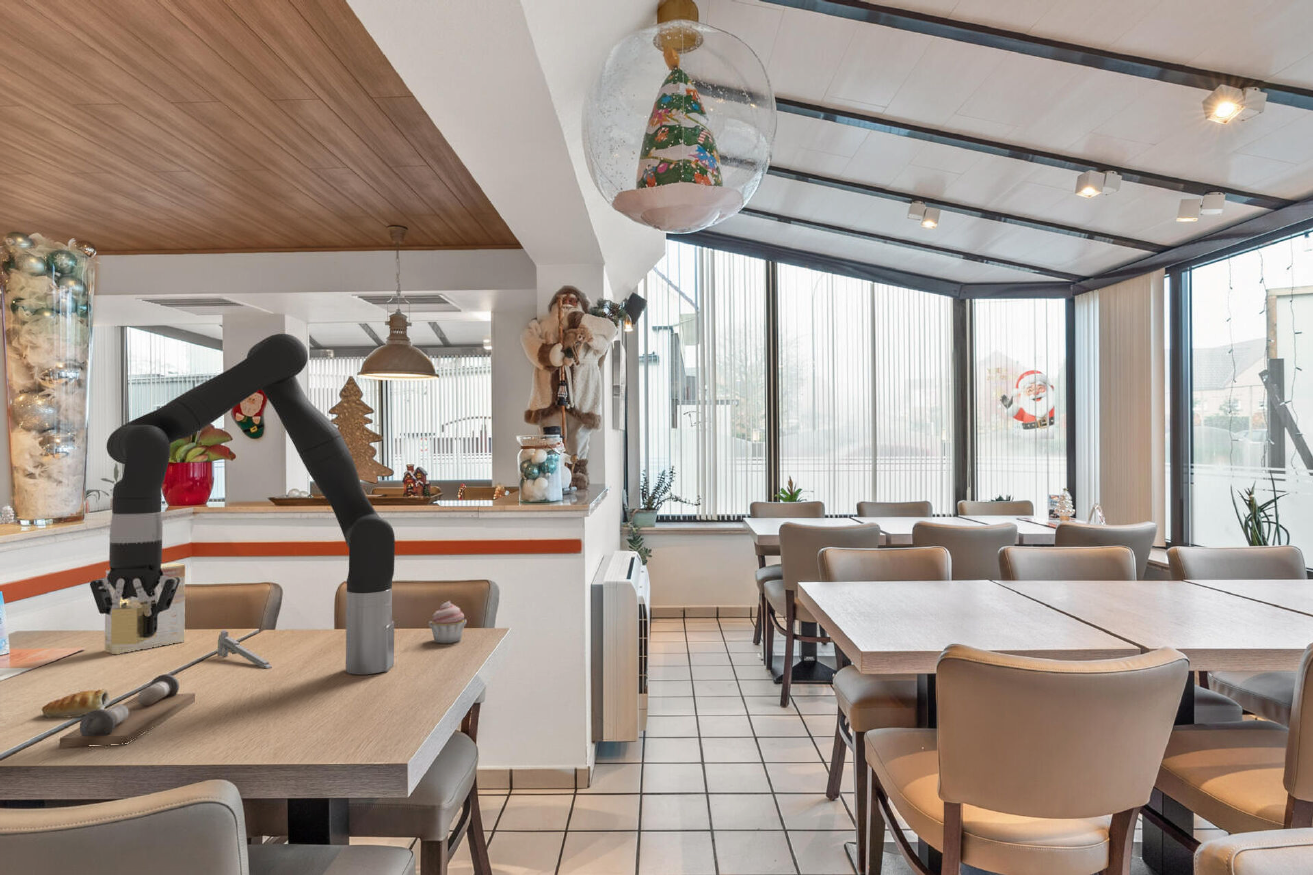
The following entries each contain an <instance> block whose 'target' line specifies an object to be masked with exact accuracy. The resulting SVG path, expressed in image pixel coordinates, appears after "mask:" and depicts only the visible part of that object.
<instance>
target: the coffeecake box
mask: <svg viewBox="0 0 1313 875" xmlns="http://www.w3.org/2000/svg"><path fill="white" fill-rule="evenodd" d="M161 570H162V572H163V574H164V576H167V577H171V578H175V577H178V578H179V579H180V582H179V585H178V587H177V590H176V593H175V595H174V598H173V600H172V603H171V606H170V608H169V609H167V610H165V611H162V612H160V613H159V614H158V619H157V631H156V636H154V637H152V638H150V639H147V640H145V641H143V642H140V643H138V644H124V645H111V620H112V617H111V616H110V615H108V614H105V613H104V651H105V650H106V651H108V652H107V653H109V652H110V654H111V653H112V655H113V654H117V655H121V653H122V654H125V653H124V652H128V653H132V652H131V651H133V652H136V651H135V650H138V651H141V650H140V649H143V650H147V649H148V648H149V649H153V648H152V647H154V648H158V646H159V647H163V646H162V645H165V646H169V644H170V645H173V643H175V644H180V642H181V643H184V642H185V635H186V634H185V628H186V626H185V625H186V624H185V623H186V622H185V618H186V617H185V616H186V615H185V614H186V613H185V607H186V604H185V603H186V602H185V601H186V598H185V597H186V590H185V589H186V565H185V564H183V563H179V562H168V563H161ZM109 572H110V569H106V570H105V578H106V577H107V576H108V574H109ZM155 589H156V592H157V596H158V599H157V602H158V600H159V597H160V594H161V592H162V588H161V582H160V583H159V584H158V585H157V587H156V588H155ZM109 591H110V594H111V596H112V599H113V596H114V593H115V589H114V588H113V587H112V586H111V584H110V588H109ZM147 597H148V595H147ZM133 602H139V600H138V598H136V597H132V598H131V600H130V601H129V603H128V604H130V603H133ZM149 649H148V650H149ZM106 651H105V652H106Z"/></svg>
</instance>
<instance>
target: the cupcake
mask: <svg viewBox="0 0 1313 875" xmlns="http://www.w3.org/2000/svg"><path fill="white" fill-rule="evenodd" d="M464 618H465V614H464V613H463V612H462V611H461V608H460V607H458V606H457V605H455V604H453V603H451V601H450V600H448V601H446V602H444V603H442V604H441V605H440V606H439V609H437V610H436V611H435V612H434V614H433V615H432V620H431V621H429V622H428V626H429V627H430V629H431V631H432V636H433V639H434V642H435V643H437V644H441V643H448V644H454V643H457V642H460V641H461V639H462V636H463V631H464V628H465V626H466V624H467V619H464Z"/></svg>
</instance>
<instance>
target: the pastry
mask: <svg viewBox="0 0 1313 875" xmlns="http://www.w3.org/2000/svg"><path fill="white" fill-rule="evenodd" d="M110 701H111V700H110V696H109V693H108V690H107V689H106V688H102V689H98V690H83V691H79V692H77V693H71V694H70V695H67V696H63V697H62V698H60V699H55V700H54V701H53V700H52V701H50V702H49V703H47V704H45V705H43V706H42V708H41V711H42V714H43V715H44V716H45V717H47V718H69V717H68V716H75V717H79V716H78V715H86V714H88V713H90V712H92V711H94V710H99V709H102V710H106V709H105V708H106V707H107V706H108V705H110Z"/></svg>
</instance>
